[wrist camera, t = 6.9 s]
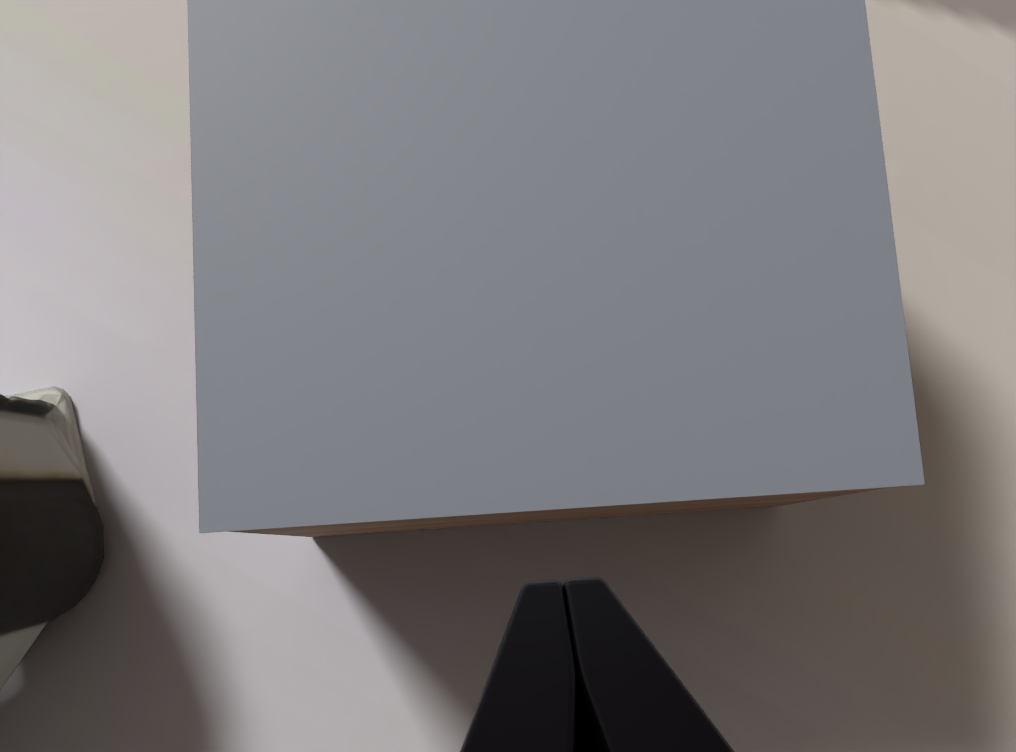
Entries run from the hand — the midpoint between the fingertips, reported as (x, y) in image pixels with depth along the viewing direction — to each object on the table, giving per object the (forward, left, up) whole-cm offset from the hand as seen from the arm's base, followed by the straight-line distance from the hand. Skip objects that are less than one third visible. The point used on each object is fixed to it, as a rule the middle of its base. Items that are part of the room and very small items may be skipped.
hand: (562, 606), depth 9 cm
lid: (+5, 0, -3) cm, 6 cm away
